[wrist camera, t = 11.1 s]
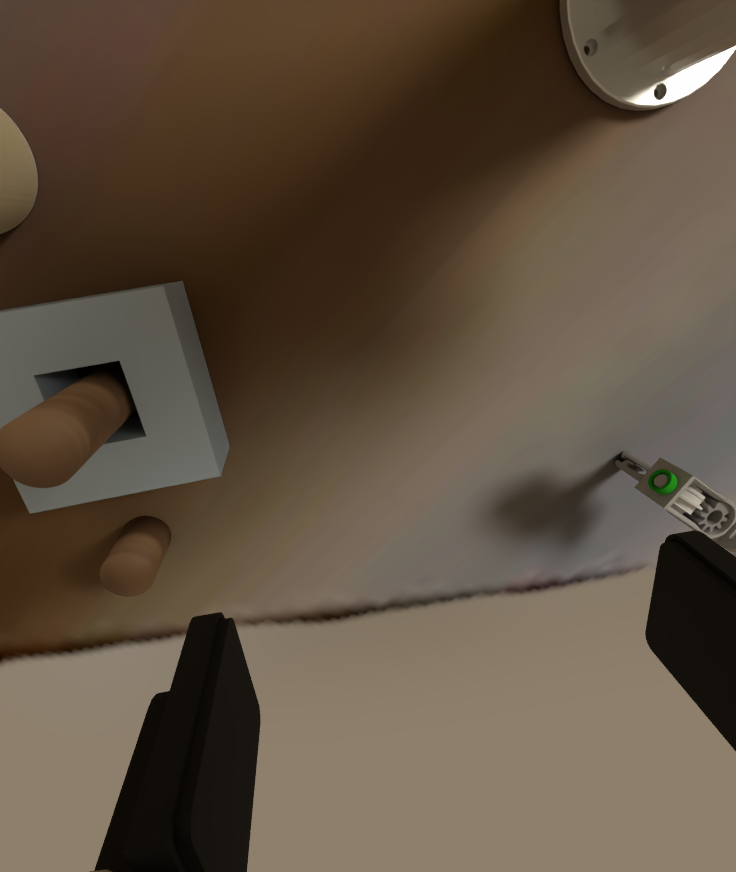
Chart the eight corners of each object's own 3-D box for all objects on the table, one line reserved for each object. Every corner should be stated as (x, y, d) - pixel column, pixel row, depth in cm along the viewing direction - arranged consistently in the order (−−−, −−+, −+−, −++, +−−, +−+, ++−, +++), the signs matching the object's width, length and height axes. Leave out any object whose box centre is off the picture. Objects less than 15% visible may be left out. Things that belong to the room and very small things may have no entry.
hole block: (-10, 311, 30) (-65, 323, 25) (182, 280, 31) (163, 286, 26) (65, 478, 34) (29, 513, 30) (229, 446, 35) (220, 476, 31)
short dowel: (117, 521, 36) (91, 560, 32) (163, 512, 37) (144, 549, 32) (132, 558, 38) (109, 601, 33) (176, 549, 38) (160, 590, 33)
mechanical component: (649, 497, 43) (746, 565, 34) (571, 445, 40) (655, 504, 31) (671, 472, 42) (777, 533, 33) (594, 417, 39) (687, 468, 30)
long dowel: (86, 365, 32) (-21, 426, 21) (139, 356, 32) (61, 411, 21) (105, 413, 33) (13, 494, 22) (155, 404, 34) (90, 480, 22)
